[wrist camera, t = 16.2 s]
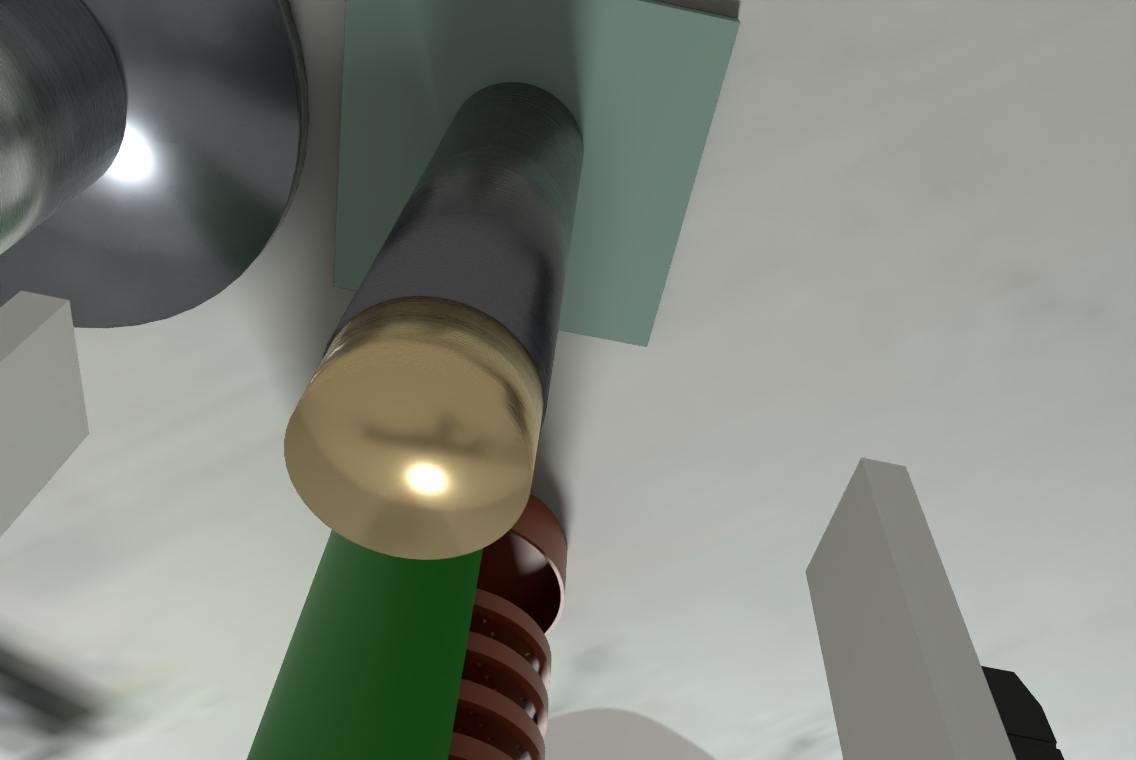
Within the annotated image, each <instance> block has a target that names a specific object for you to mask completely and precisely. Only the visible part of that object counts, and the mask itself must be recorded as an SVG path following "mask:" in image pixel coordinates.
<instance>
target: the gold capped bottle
mask: <svg viewBox="0 0 1136 760" xmlns="http://www.w3.org/2000/svg"><path fill="white" fill-rule="evenodd" d="M583 151H584V150H583V141H582V136H581V132H580V130H579V127H578V124H577V122H576V121H575V119H574V117H573V115H572V114H571V112H570V111H569V110H568V108H567V107H566V106H565V105H564V104H563V103H562V102H561V101H560V100H559V99H558V98H556V97H555V96H554V95H552V94H551V93H549V92H548V91H546V90H544V89H542V88H539V87H537V86H534V85H531V84H526V83H521V82H504V83H498V84H494V85H491V86H488V87H485V88H483V89H481V90H480V91H478V92H476V93H475V94H473V95H472V96H471V97H469V98H468V99H467V100H466V101H465V102H464V103H463V105H462V106H461V107H460V109H459V110H458V112H457V113H456V115H455V117H454V119H453V120H452V122H451V124H450V126H449V128H448V129H447V131H446V133H445V135H444V137H443V138H442V140H441V142H440V144H439V146H438V147H437V149H436V151H435V153H434V154H433V156H432V158H431V160H430V162H429V163H428V165H427V167H426V169H425V171H424V172H423V174H422V176H421V178H420V179H419V181H418V183H417V185H416V187H415V188H414V190H413V192H412V194H411V196H410V197H409V199H408V201H407V203H406V205H405V206H404V208H403V210H402V212H401V213H400V215H399V217H398V219H397V221H396V222H395V224H394V226H393V228H392V230H391V231H390V233H389V235H388V237H387V239H386V240H385V242H384V244H383V246H382V247H381V249H380V251H379V253H378V255H377V256H376V258H375V260H374V262H373V264H372V265H371V267H370V269H369V271H368V273H367V274H366V276H365V278H364V280H363V281H362V283H361V285H360V287H359V289H358V290H357V292H356V294H355V296H354V298H353V299H352V301H351V303H350V305H349V306H348V308H347V310H346V312H345V314H344V315H343V317H342V319H341V321H340V323H339V324H338V326H337V328H336V330H335V332H334V333H333V335H332V337H331V339H330V341H329V342H328V344H327V347H326V350H325V352H324V355H323V360H322V362H321V363H320V365H319V367H318V369H317V371H316V372H315V374H314V376H313V378H312V380H311V381H310V383H309V385H308V387H307V389H306V390H305V392H304V394H303V396H302V398H301V400H300V401H299V403H298V405H297V407H296V409H295V410H294V412H293V414H292V416H291V418H290V420H289V423H288V426H287V429H286V434H285V440H284V456H285V461H286V467H287V470H288V473H289V476H290V479H291V481H292V483H293V485H294V487H295V489H296V491H297V493H298V494H299V496H300V497H301V498H302V500H303V501H304V503H305V504H306V505H307V506H308V508H309V509H310V510H311V511H312V512H313V513H314V514H315V515H316V516H317V517H318V518H319V519H320V520H321V521H322V522H323V523H325V524H326V525H327V526H328V527H330V528H331V529H333V530H334V531H335V532H337V533H338V534H340V535H342V536H343V537H345V538H347V539H348V540H350V541H352V542H354V543H356V544H358V545H361V546H363V547H365V548H368V549H371V550H373V551H376V552H379V553H383V554H387V555H391V556H395V557H401V558H407V559H420V560H433V559H445V558H453V557H457V556H461V555H466V554H469V553H471V552H474V551H477V550H480V549H482V548H484V547H486V546H488V545H490V544H491V543H493V542H494V541H496V540H497V539H499V538H500V537H502V536H503V535H504V534H505V533H506V532H507V531H509V530H510V529H511V528H512V526H513V525H514V524H515V523H516V522H517V520H518V519H519V518H520V516H521V514H522V512H523V511H524V509H525V507H526V504H527V502H528V499H529V496H530V490H531V485H532V479H533V472H534V465H535V459H536V452H537V446H538V439H539V433H540V429H541V427H542V424H543V421H544V417H545V412H546V407H547V400H548V393H549V386H550V380H551V373H552V366H553V359H554V353H555V346H556V339H557V332H558V326H559V319H560V312H561V305H562V299H563V292H564V285H565V278H566V272H567V265H568V258H569V251H570V245H571V238H572V231H573V224H574V218H575V211H576V204H577V197H578V191H579V184H580V177H581V170H582V163H583Z"/></svg>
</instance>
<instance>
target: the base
mask: <svg viewBox="0 0 1136 760" xmlns="http://www.w3.org/2000/svg"><path fill="white" fill-rule="evenodd" d="M79 1H80V2H81V3H82V4H83V6H84V7H85V8H86V10H87V11H88V12H89V14H90V15H91V16H92V18H93V19H94V20H95V22H96V23H97V25H98V27H99V28H100V30H101V32H102V33H103V35H104V36H105V38H106V40H107V42H108V44H109V46H110V48H111V50H112V52H113V54H114V57H115V60H116V62H117V65H118V68H119V71H120V73H121V78H122V82H123V86H124V90H125V98H126V107H127V111H126V128H125V133H124V139H123V142H122V145H121V148H120V150H119V153H118V155H117V157H116V158H115V160H114V162H113V164H112V165H111V166H110V168H109V169H108V170H107V171H106V172H105V174H104V175H103V176H102V177H100V178H99V179H98V180H97V181H96V182H94V183H93V184H92V185H91V186H89V187H88V188H87V189H85V190H84V191H83V192H82V193H80V194H79V195H78V196H76V197H75V198H74V199H72V200H71V201H70V202H69V203H67V204H66V205H65V206H63V207H62V208H61V209H59V210H58V211H57V212H56V213H54V214H53V215H52V216H50V217H49V218H48V219H46V220H45V221H44V222H43V223H41V224H40V225H39V226H37V227H36V228H35V229H33V230H32V231H31V232H30V233H28V234H27V235H26V236H24V237H23V238H22V239H20V240H19V241H18V242H17V243H15V244H14V245H13V246H11V247H10V248H9V249H7V250H6V251H5V252H3V253H2V254H1V255H0V307H1V306H3V305H4V304H5V303H6V302H8V301H9V300H10V299H11V298H13V297H14V296H15V295H16V294H17V293H19V292H20V291H26V292H31V293H36V294H41V295H46V296H51V297H56V298H61V299H66V300H69V301H70V308H71V314H72V321H73V327H80V328H114V327H124V326H134V325H141V324H145V323H149V322H154V321H158V320H162V319H166V318H169V317H172V316H174V315H177V314H180V313H182V312H185V311H187V310H190V309H192V308H195V307H196V306H198V305H200V304H202V303H203V302H205V301H207V300H208V299H210V298H212V297H214V296H215V295H217V294H219V293H220V292H221V291H222V290H224V289H225V288H226V287H227V286H229V285H230V284H231V283H232V282H233V281H235V280H236V279H237V278H238V277H240V276H241V275H242V274H243V272H244V271H245V270H246V269H247V268H248V267H249V266H250V264H251V263H252V262H253V261H254V260H255V259H256V258H257V256H258V255H259V254H260V253H261V252H262V250H263V249H264V248H265V246H266V245H267V244H268V242H269V241H270V240H271V238H272V237H273V235H274V233H275V232H276V230H277V228H278V227H279V225H280V224H281V222H282V220H283V219H284V217H285V216H286V214H287V211H288V209H289V206H290V204H291V201H292V199H293V197H294V194H295V192H296V189H297V187H298V183H299V179H300V175H301V171H302V167H303V163H304V159H305V154H306V143H307V132H308V121H309V117H308V94H307V80H306V74H305V68H304V62H303V56H302V51H301V45H300V41H299V37H298V34H297V31H296V27H295V24H294V21H293V17H292V14H291V10H290V7H289V4H288V1H287V0H79Z"/></svg>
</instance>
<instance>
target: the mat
mask: <svg viewBox="0 0 1136 760" xmlns="http://www.w3.org/2000/svg"><path fill="white" fill-rule="evenodd" d="M739 24H740V22H739V19H737V18H732V17H727V16H723V15H718V14H714V13H709V12H704V11H700V10H695V9H690V8H686V7H681V6H677V5H672V4H667V3H663V2H658V1H653V0H346V11H345V34H344V56H343V79H342V101H341V124H340V146H339V168H338V191H337V213H336V236H335V258H334V280H333V287H337V288H343V289H348V290H353V291H357V290H358V289H359V287H360V285H361V283H362V281H363V280H364V278H365V276H366V274H367V273H368V271H369V269H370V267H371V265H372V264H373V262H374V260H375V258H376V256H377V255H378V253H379V251H380V249H381V247H382V246H383V244H384V242H385V240H386V239H387V237H388V235H389V233H390V231H391V230H392V228H393V226H394V224H395V222H396V221H397V219H398V217H399V215H400V213H401V212H402V210H403V208H404V206H405V205H406V203H407V201H408V199H409V197H410V196H411V194H412V192H413V190H414V188H415V187H416V185H417V183H418V181H419V179H420V178H421V176H422V174H423V172H424V171H425V169H426V167H427V165H428V163H429V162H430V160H431V158H432V156H433V154H434V153H435V151H436V149H437V147H438V146H439V144H440V142H441V140H442V138H443V137H444V135H445V133H446V131H447V129H448V128H449V126H450V124H451V122H452V120H453V119H454V117H455V115H456V113H457V112H458V110H459V109H460V107H461V106H462V105H463V103H464V102H465V101H466V100H467V99H468V98H469V97H471V96H472V95H473V94H475V93H476V92H478V91H480V90H481V89H483V88H485V87H488V86H491V85H494V84H498V83H504V82H521V83H526V84H531V85H534V86H537V87H539V88H542V89H544V90H546V91H548V92H549V93H551V94H552V95H554V96H555V97H556V98H558V99H559V100H560V101H561V102H562V103H563V104H564V105H565V106H566V107H567V108H568V110H569V111H570V112H571V114H572V115H573V117H574V119H575V121H576V122H577V124H578V127H579V130H580V132H581V136H582V141H583V150H584V151H583V163H582V170H581V177H580V184H579V191H578V197H577V204H576V211H575V218H574V224H573V231H572V238H571V245H570V251H569V258H568V265H567V272H566V278H565V285H564V292H563V299H562V305H561V312H560V319H559V326H558V330H561V331H566V332H571V333H577V334H582V335H587V336H592V337H597V338H603V339H608V340H613V341H618V342H623V343H629V344H634V345H639V346H644V347H647V345H648V341H649V338H650V334H651V331H652V327H653V324H654V320H655V317H656V313H657V310H658V306H659V303H660V299H661V296H662V293H663V289H664V286H665V282H666V279H667V275H668V272H669V268H670V265H671V261H672V258H673V254H674V251H675V247H676V244H677V240H678V237H679V233H680V230H681V226H682V223H683V219H684V216H685V212H686V209H687V205H688V202H689V198H690V195H691V191H692V188H693V184H694V181H695V177H696V174H697V170H698V167H699V163H700V160H701V156H702V153H703V149H704V146H705V142H706V139H707V135H708V132H709V128H710V125H711V121H712V118H713V114H714V111H715V107H716V104H717V100H718V97H719V94H720V90H721V87H722V83H723V80H724V76H725V73H726V69H727V66H728V62H729V59H730V55H731V52H732V48H733V45H734V41H735V38H736V34H737V31H738V27H739Z"/></svg>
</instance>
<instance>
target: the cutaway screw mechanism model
mask: <svg viewBox="0 0 1136 760" xmlns="http://www.w3.org/2000/svg"><path fill="white" fill-rule="evenodd" d="M566 563H567V545H566V539H565V536H564V533H563V530H562V528H561V526H560V524H559V522H558V521H557V519H556V518H555V516H554V515H553V514H552V512H551V511H550V510H549V509H548V508H547V507H546V506H545V505H544V504H543V503H542V502H541V501H540V500H538V499H537V498H536V497H535V496H533V495H532V494H530V496H529V499H528V502H527V504H526V507H525V509H524V511H523V512H522V514H521V516H520V518H519V519H518V520H517V522H516V523H515V524H514V525H513V526H512V528H511V529H510V530H509V531H507V532H506V533H505V534H504V535H503V536H502V537H500V538H499V539H497V540H496V541H494V542H493V543H491V544H490V545H488V546H486V547H484V548H482V549H480V550H477V551H474V552H471V553H469V554H466V555H461V556H457V557H453V558H445V559H433V560H420V559H407V558H401V557H395V556H391V555H387V554H383V553H379V552H376V551H373V550H371V549H368V548H365V547H363V546H361V545H358V544H356V543H354V542H352V541H350V540H348V539H347V538H345V537H343V536H342V535H340V534H338V533H337V532H335V531H334V530H333V529H332V531H331V534H330V537H329V539H328V542H327V545H326V548H325V550H324V553H323V556H322V558H321V561H320V564H319V566H318V569H317V572H316V574H315V577H314V580H313V583H312V585H311V588H310V591H309V593H308V596H307V599H306V601H305V604H304V607H303V609H302V612H301V615H300V618H299V620H298V623H297V626H296V628H295V631H294V634H293V636H292V639H291V642H290V644H289V647H288V650H287V653H286V655H285V658H284V661H283V663H282V666H281V669H280V671H279V674H278V677H277V680H276V682H275V685H274V688H273V690H272V693H271V696H270V698H269V701H268V704H267V706H266V709H265V712H264V715H263V717H262V720H261V723H260V725H259V728H258V731H257V733H256V736H255V739H254V741H253V744H252V747H251V750H250V752H249V755H248V758H247V760H545V745H544V740H543V738H544V735H545V732H546V728H547V717H548V695H547V691H548V687H549V683H550V672H551V651H550V647H549V644H548V641H547V639H546V636H547V635H548V634H549V633H550V632H551V631H552V629H553V628H554V627H555V625H556V624H557V622H558V620H559V618H560V616H561V614H562V610H563V606H564V599H565V581H566Z"/></svg>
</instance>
